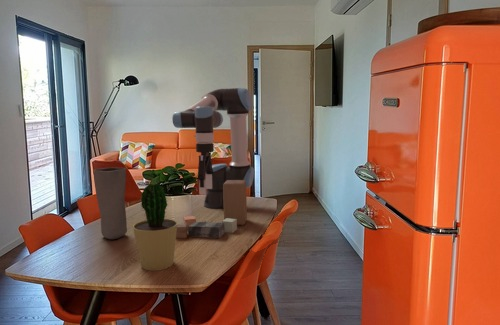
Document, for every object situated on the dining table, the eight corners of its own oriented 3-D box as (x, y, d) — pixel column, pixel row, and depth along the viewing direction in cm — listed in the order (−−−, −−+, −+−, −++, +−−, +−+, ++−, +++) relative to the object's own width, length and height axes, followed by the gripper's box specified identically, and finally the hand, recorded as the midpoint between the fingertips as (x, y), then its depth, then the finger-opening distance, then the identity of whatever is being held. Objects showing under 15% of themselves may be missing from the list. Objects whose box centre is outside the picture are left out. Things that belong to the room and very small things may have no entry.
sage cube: (226, 228, 191) (226, 218, 190) (236, 229, 189) (236, 219, 188) (222, 231, 186) (221, 221, 185) (232, 232, 184) (232, 221, 184)
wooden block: (247, 219, 205) (246, 179, 202) (244, 225, 195) (244, 183, 192) (227, 219, 206) (226, 179, 203) (223, 225, 196) (222, 183, 193)
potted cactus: (182, 256, 157) (178, 177, 153) (175, 272, 142) (171, 185, 137) (140, 257, 157) (136, 178, 152) (130, 273, 141) (124, 186, 137)
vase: (93, 237, 180) (88, 169, 176) (119, 231, 189) (115, 166, 185) (107, 244, 172) (103, 172, 168) (134, 236, 181) (130, 168, 177)
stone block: (196, 230, 189) (196, 219, 188) (226, 233, 185) (226, 221, 184) (188, 236, 180) (187, 225, 180) (219, 239, 176) (219, 227, 176)
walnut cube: (175, 234, 183) (175, 223, 182) (187, 234, 183) (186, 223, 183) (174, 238, 178) (174, 227, 177) (186, 238, 178) (185, 226, 178)
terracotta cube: (183, 227, 194) (183, 217, 193) (194, 226, 195) (193, 215, 195) (185, 230, 189) (185, 219, 188) (196, 229, 191) (196, 218, 190)
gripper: (202, 140, 190) (203, 186, 193) (189, 145, 166) (190, 197, 168) (218, 140, 190) (219, 186, 192) (207, 145, 165) (208, 197, 168)
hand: (206, 191), depth 180 cm, fingers open, 13 cm apart
